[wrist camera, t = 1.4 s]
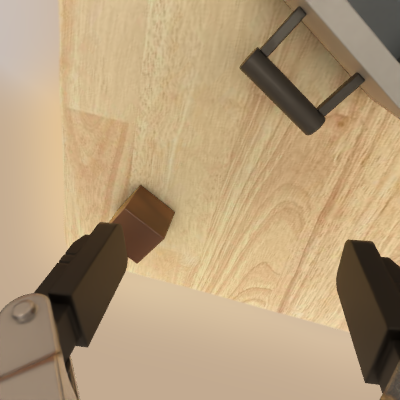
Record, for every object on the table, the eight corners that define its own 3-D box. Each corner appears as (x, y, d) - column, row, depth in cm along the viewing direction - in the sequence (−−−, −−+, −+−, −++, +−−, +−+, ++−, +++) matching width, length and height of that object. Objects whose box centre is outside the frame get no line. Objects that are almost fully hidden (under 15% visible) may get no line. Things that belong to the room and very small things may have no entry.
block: (116, 211, 34) (99, 236, 30) (140, 184, 31) (124, 208, 28) (150, 236, 35) (137, 264, 31) (175, 212, 33) (164, 238, 29)
